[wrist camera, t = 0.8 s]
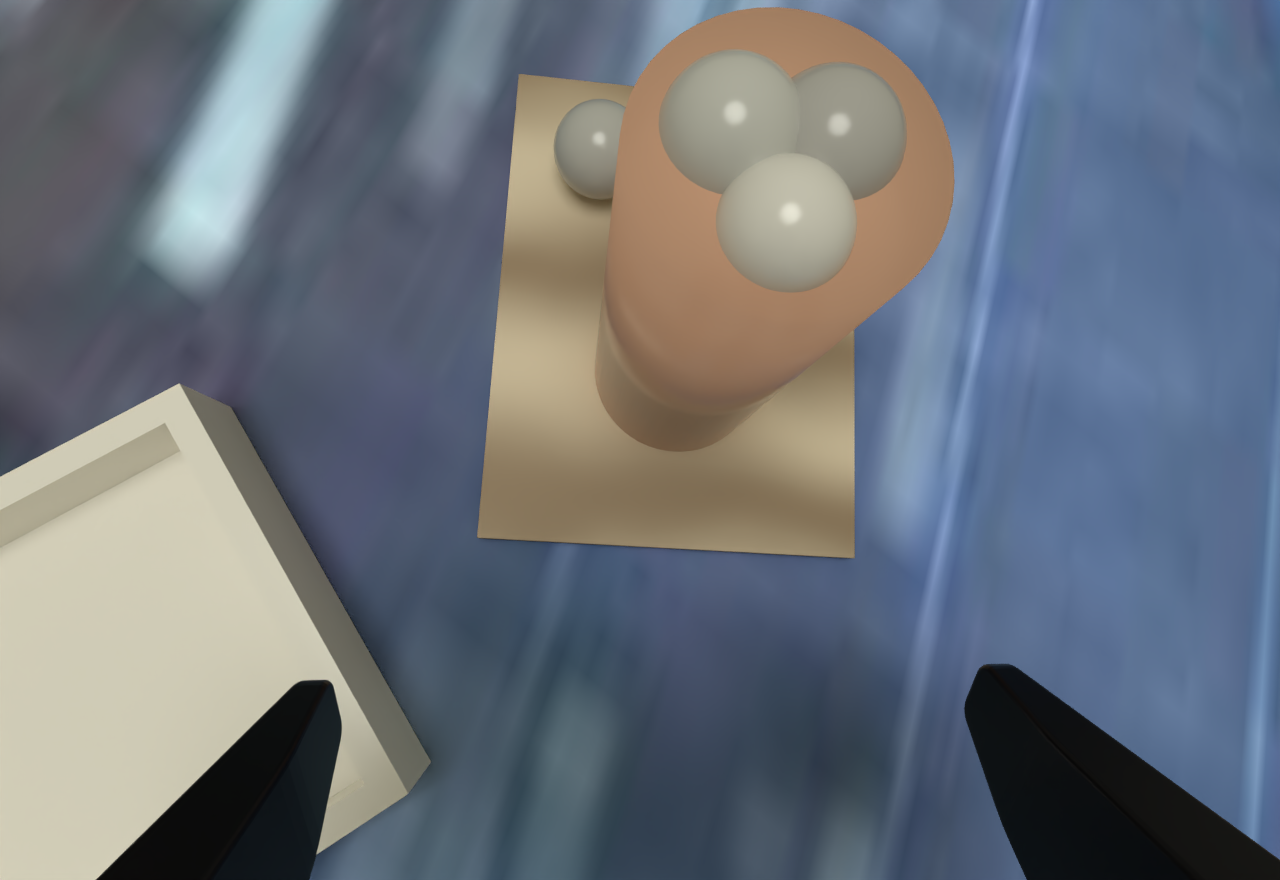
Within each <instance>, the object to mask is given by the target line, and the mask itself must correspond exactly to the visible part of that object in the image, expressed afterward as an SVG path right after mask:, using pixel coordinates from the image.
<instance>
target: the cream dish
mask: <svg viewBox="0 0 1280 880" xmlns="http://www.w3.org/2000/svg"><path fill="white" fill-rule="evenodd" d="M303 680H329V681H330V682H331V683H332V684H333V687H334V690H335V695H336V699H337V703H338V708H339V712H340V716H341V721H342V734H341V741H340V746H339V751H338V755H337V760H336V765H335V770H334V774H333V779H332V784H331V789H330V794H329V798H328V803H327V808H326V813H325V818H324V822H323V827H322V832H321V837H320V841H319V845H318V850H317V854H318V853H320V852H321V851H323V850H324V849H326V848H327V847H329V846H330V845H332V844H333V843H335V842H336V841H338V840H339V839H341V838H342V837H344V836H345V835H347V834H348V833H350V832H351V831H353V830H354V829H356V828H357V827H359V826H360V825H362V824H363V823H365V822H367V821H368V820H370V819H371V818H373V817H374V816H376V815H377V814H379V813H380V812H382V811H383V810H385V809H386V808H388V807H389V806H391V805H392V804H394V803H395V802H397V801H398V800H400V799H401V798H403V797H404V796H406V795H407V794H409V792H410V791H411V789H412V788H413V787H414V785H415V784H416V782H417V781H418V780H419V778H420V777H421V775H422V774H423V773H424V771H425V770H426V768H427V767H428V766H429V764H430V763H431V761H430V759H429V757H428V756H427V754H426V752H425V750H424V749H423V747H422V745H421V743H420V741H419V740H418V738H417V736H416V734H415V733H414V731H413V729H412V727H411V725H410V724H409V722H408V720H407V718H406V717H405V715H404V713H403V711H402V710H401V708H400V706H399V704H398V702H397V701H396V699H395V697H394V695H393V694H392V692H391V690H390V688H389V686H388V685H387V683H386V681H385V679H384V678H383V676H382V674H381V672H380V671H379V669H378V667H377V665H376V663H375V662H374V660H373V658H372V656H371V655H370V653H369V651H368V649H367V647H366V646H365V644H364V642H363V640H362V639H361V637H360V635H359V633H358V632H357V630H356V628H355V626H354V624H353V623H352V621H351V619H350V617H349V616H348V614H347V612H346V610H345V608H344V607H343V605H342V603H341V601H340V600H339V598H338V596H337V594H336V593H335V591H334V589H333V587H332V585H331V584H330V582H329V580H328V578H327V577H326V575H325V573H324V571H323V570H322V568H321V566H320V564H319V562H318V561H317V559H316V557H315V555H314V554H313V552H312V550H311V548H310V546H309V545H308V543H307V541H306V539H305V538H304V536H303V534H302V532H301V531H300V529H299V527H298V525H297V523H296V522H295V520H294V518H293V516H292V515H291V513H290V511H289V509H288V507H287V506H286V504H285V502H284V500H283V499H282V497H281V495H280V493H279V492H278V490H277V488H276V486H275V484H274V483H273V481H272V479H271V477H270V476H269V474H268V472H267V470H266V468H265V467H264V465H263V463H262V461H261V460H260V458H259V456H258V454H257V453H256V451H255V449H254V447H253V445H252V444H251V442H250V440H249V438H248V437H247V435H246V433H245V431H244V429H243V428H242V426H241V424H240V422H239V421H238V419H237V417H236V415H235V414H234V412H233V410H232V408H231V407H229V406H227V405H225V404H223V403H221V402H219V401H216V400H214V399H212V398H210V397H208V396H205V395H203V394H201V393H199V392H197V391H195V390H192V389H190V388H188V387H186V386H184V385H181V384H178V385H176V386H174V387H172V388H170V389H168V390H166V391H164V392H162V393H160V394H158V395H156V396H154V397H153V398H151V399H149V400H147V401H145V402H143V403H141V404H139V405H137V406H135V407H133V408H131V409H130V410H128V411H126V412H124V413H122V414H120V415H118V416H116V417H114V418H112V419H110V420H108V421H107V422H105V423H103V424H101V425H99V426H97V427H95V428H93V429H91V430H89V431H87V432H85V433H84V434H82V435H80V436H78V437H76V438H74V439H72V440H70V441H68V442H66V443H64V444H62V445H60V446H59V447H57V448H55V449H53V450H51V451H49V452H47V453H45V454H43V455H41V456H39V457H37V458H36V459H34V460H32V461H30V462H28V463H26V464H24V465H22V466H20V467H18V468H16V469H14V470H13V471H11V472H9V473H7V474H5V475H3V476H1V477H0V880H96V879H97V878H98V877H99V876H100V875H101V874H102V873H103V872H104V871H105V870H106V869H107V868H108V867H109V866H110V865H111V864H112V863H113V862H114V861H115V860H116V859H117V858H118V857H119V856H120V855H121V854H122V853H123V852H124V851H125V850H126V849H127V848H128V847H129V846H130V845H131V844H132V843H133V842H134V841H135V840H136V839H137V838H138V837H140V836H141V835H142V834H143V833H144V832H145V831H146V830H147V829H148V828H149V827H150V826H151V825H152V824H153V823H154V822H155V821H156V820H157V819H158V818H159V817H160V816H161V815H162V814H163V813H164V812H165V811H166V810H167V809H168V808H169V807H170V806H171V805H172V804H173V803H174V802H175V801H176V800H177V799H178V798H179V797H180V796H181V795H182V794H183V793H184V792H185V791H186V790H187V789H188V788H189V787H190V786H191V785H192V784H193V783H194V782H195V781H196V780H197V779H198V778H199V777H200V776H201V775H202V774H203V773H204V772H206V771H207V770H208V769H209V768H210V767H211V766H212V765H213V764H214V763H215V762H216V761H217V760H218V759H219V758H220V757H221V756H222V755H223V754H224V753H225V752H226V751H227V750H228V749H229V748H230V747H231V746H232V745H233V744H234V743H235V742H236V741H237V740H238V739H239V738H240V737H241V736H242V735H243V734H244V733H245V732H246V731H247V730H248V729H249V728H250V727H251V726H252V725H253V724H254V723H255V722H256V721H257V720H258V719H259V718H260V717H261V716H262V715H263V714H264V713H265V712H266V711H267V710H268V709H269V708H270V707H271V706H273V705H274V704H275V703H276V702H277V701H278V700H279V699H280V698H281V697H282V696H283V695H284V694H285V693H286V692H287V691H288V690H289V689H290V688H291V687H292V686H293V685H294V684H296V683H297V682H299V681H303ZM317 854H316V855H317Z"/></svg>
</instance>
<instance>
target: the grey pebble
mask: <svg viewBox="0 0 1280 880" xmlns="http://www.w3.org/2000/svg"><path fill="white" fill-rule="evenodd" d="M625 108H626V107H624V106H622V105H621V104H619V103H617V102H614V101H611V100H607V99H592V100H588V101H584V102H582V103H580V104H578V105H576V106H575V107H573V108H572V109H571V110H570V111H569V112H568V113H567V114H566V115H565V116H564V117H563V119H562V120H561V122H560V124H559V126H558V128H557V131H556V134H555V138H554V148H553V150H554V159H555V163H556V166H557V168H558V171H559V173H560V175H561V177H562V178H563V179H564V181H565V182H566V183H567V184H568V185H569V186H570V187H571V188H572V189H573V190H574V191H576V192H577V193H579V194H581V195H583V196H585V197H588V198H592V199H599V200H602V199H611V198H613V192H614V183H615V174H616V164H617V155H618V146H619V137H620V130H621V125H622V120H623V114H624V111H625Z"/></svg>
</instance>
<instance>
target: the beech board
mask: <svg viewBox="0 0 1280 880" xmlns="http://www.w3.org/2000/svg"><path fill="white" fill-rule="evenodd" d="M633 88H634V86H625V85H616V84H607V83H597V82H588V81H579V80H570V79H560V78H551V77H542V76H532V75H523V74H519V81H518V92H517V103H516V114H515V125H514V136H513V147H512V158H511V169H510V180H509V191H508V202H507V214H506V225H505V236H504V247H503V258H502V269H501V280H500V291H499V302H498V313H497V324H496V335H495V346H494V357H493V368H492V380H491V391H490V402H489V413H488V424H487V435H486V446H485V457H484V468H483V479H482V490H481V501H480V512H479V523H478V534H477V538H486V539H505V540H523V541H541V542H560V543H578V544H597V545H615V546H634V547H652V548H670V549H689V550H707V551H726V552H744V553H763V554H781V555H800V556H818V557H836V558H855V532H854V330H853V331H851V332H850V333H849V334H848V335H847V336H845V337H844V338H843V339H842V340H841V341H840V342H838V343H837V344H836V345H835V346H834V347H832V348H831V349H830V350H829V351H828V352H826V353H825V354H824V355H823V356H822V357H820V358H819V359H818V360H817V361H816V362H814V363H813V364H812V365H811V366H810V367H809V368H807V369H806V370H805V371H804V372H803V373H801V374H800V375H799V376H798V377H797V378H795V379H794V380H793V381H792V382H791V383H789V384H788V385H787V386H786V387H785V388H784V389H782V390H781V391H780V392H779V393H778V394H776V395H775V396H774V397H773V398H772V399H770V400H769V401H768V402H767V403H766V404H764V405H763V406H762V407H761V408H760V409H758V410H757V411H756V412H755V413H754V414H753V415H751V416H750V417H749V418H748V419H747V420H745V421H744V422H743V423H742V424H741V425H739V426H738V427H737V428H736V429H735V430H733V431H732V432H731V433H730V434H729V435H727V436H726V437H724V438H723V439H722V440H720V441H718V442H716V443H714V444H712V445H710V446H707V447H704V448H702V449H697V450H693V451H683V452H675V451H665V450H659V449H656V448H653V447H650V446H647V445H645V444H643V443H641V442H638V441H637V440H635V439H634V438H632V437H630V436H629V435H628V434H626V433H625V432H624V431H623V430H622V429H620V427H619V426H618V425H617V424H616V423H615V422H614V421H613V420H612V418H611V417H610V416H609V414H608V413H607V411H606V409H605V407H604V406H603V404H602V402H601V399H600V396H599V394H598V390H597V386H596V381H595V357H596V348H597V339H598V330H599V321H600V312H601V302H602V293H603V284H604V275H605V266H606V256H607V247H608V238H609V229H610V220H611V210H612V201H613V198H611V199H602V200H599V199H592V198H588V197H585V196H583V195H581V194H579V193H577V192H576V191H574V190H573V189H572V188H571V187H570V186H569V185H568V184H567V183H566V182H565V181H564V179H563V178H562V177H561V175H560V173H559V171H558V168H557V166H556V163H555V159H554V150H553V148H554V138H555V134H556V131H557V128H558V126H559V124H560V122H561V120H562V119H563V117H564V116H565V115H566V114H567V113H568V112H569V111H570V110H571V109H572V108H573V107H575V106H576V105H578V104H580V103H582V102H584V101H588V100H592V99H607V100H611V101H614V102H617V103H619V104H621V105H622V106H624V107H626V105H627V103H628V100H629V97H630V94H631V92H632V90H633Z"/></svg>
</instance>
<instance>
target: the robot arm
mask: <svg viewBox="0 0 1280 880" xmlns="http://www.w3.org/2000/svg"><path fill="white" fill-rule="evenodd" d="M964 709H965V718H966V721H967V724H968V727H969V730H970V733H971V736H972V739H973V742H974V745H975V748H976V751H977V754H978V757H979V760H980V762H981V765H982V768H983V771H984V774H985V777H986V780H987V783H988V786H989V789H990V792H991V795H992V798H993V800H994V803H995V806H996V809H997V812H998V814H999V817H1000V820H1001V822H1002V825H1003V827H1004V830H1005V832H1006V834H1007V837H1008V839H1009V841H1010V844H1011V846H1012V848H1013V850H1014V853H1015V855H1016V857H1017V859H1018V861H1019V864H1020V866H1021V868H1022V870H1023V872H1024V875H1025V877H1026V879H1027V880H1280V860H1279V859H1278V858H1277V857H1275V856H1274V855H1272V854H1271V853H1270V852H1268V851H1267V850H1266V849H1264V848H1263V847H1262V846H1260V845H1259V844H1257V843H1256V842H1255V841H1253V840H1252V839H1251V838H1249V837H1248V836H1246V835H1245V834H1244V833H1242V832H1241V831H1240V830H1238V829H1237V828H1236V827H1234V826H1233V825H1231V824H1230V823H1229V822H1227V821H1226V820H1225V819H1223V818H1222V817H1220V816H1219V815H1218V814H1216V813H1215V812H1214V811H1212V810H1211V809H1210V808H1208V807H1207V806H1205V805H1204V804H1203V803H1201V802H1200V801H1199V800H1197V799H1196V798H1194V797H1193V796H1192V795H1190V794H1189V793H1188V792H1186V791H1185V790H1184V789H1182V788H1181V787H1179V786H1178V785H1177V784H1175V783H1174V782H1173V781H1171V780H1170V779H1168V778H1167V777H1166V776H1164V775H1163V774H1162V773H1160V772H1159V771H1158V770H1156V769H1155V768H1153V767H1152V766H1151V765H1149V764H1148V763H1147V762H1145V761H1144V760H1142V759H1141V758H1140V757H1138V756H1137V755H1136V754H1134V753H1133V752H1132V751H1130V750H1129V749H1127V748H1126V747H1125V746H1123V745H1122V744H1121V743H1119V742H1118V741H1117V740H1115V739H1114V738H1112V737H1111V736H1110V735H1108V734H1107V733H1106V732H1104V731H1103V730H1101V729H1100V728H1099V727H1097V726H1096V725H1095V724H1093V723H1092V722H1091V721H1089V720H1088V719H1086V718H1085V717H1084V716H1082V715H1081V714H1080V713H1078V712H1077V711H1075V710H1074V709H1073V708H1071V707H1070V706H1069V705H1067V704H1066V703H1065V702H1063V701H1062V700H1060V699H1059V698H1058V697H1056V696H1055V695H1054V694H1052V693H1051V692H1049V691H1048V690H1047V689H1045V688H1044V687H1043V686H1041V685H1040V684H1039V683H1037V682H1036V681H1034V680H1033V679H1032V678H1030V677H1029V676H1028V675H1026V674H1025V673H1023V672H1022V671H1021V670H1019V669H1018V668H1016V667H1015V666H1013V665H1010V664H986V665H983V666H982V667H980V668H979V670H978V672H977V674H976V677H975V679H974V681H973V684H972V686H971V689H970V691H969V694H968V696H967V699H966V701H965V708H964ZM341 734H342V721H341V716H340V712H339V708H338V703H337V699H336V695H335V690H334V687H333V684H332V683H331V682H330V681H329V680H303V681H299V682H297V683H296V684H294V685H293V686H292V687H291V688H290V689H289V690H288V691H287V692H286V693H285V694H284V695H283V696H282V697H281V698H280V699H279V700H278V701H277V702H276V703H275V704H274V705H273V706H271V707H270V708H269V709H268V710H267V711H266V712H265V713H264V714H263V715H262V716H261V717H260V718H259V719H258V720H257V721H256V722H255V723H254V724H253V725H252V726H251V727H250V728H249V729H248V730H247V731H246V732H245V733H244V734H243V735H242V736H241V737H240V738H239V739H238V740H237V741H236V742H235V743H234V744H233V745H232V746H231V747H230V748H229V749H228V750H227V751H226V752H225V753H224V754H223V755H222V756H221V757H220V758H219V759H218V760H217V761H216V762H215V763H214V764H213V765H212V766H211V767H210V768H209V769H208V770H207V771H206V772H204V773H203V774H202V775H201V776H200V777H199V778H198V779H197V780H196V781H195V782H194V783H193V784H192V785H191V786H190V787H189V788H188V789H187V790H186V791H185V792H184V793H183V794H182V795H181V796H180V797H179V798H178V799H177V800H176V801H175V802H174V803H173V804H172V805H171V806H170V807H169V808H168V809H167V810H166V811H165V812H164V813H163V814H162V815H161V816H160V817H159V818H158V819H157V820H156V821H155V822H154V823H153V824H152V825H151V826H150V827H149V828H148V829H147V830H146V831H145V832H144V833H143V834H142V835H141V836H140V837H138V838H137V839H136V840H135V841H134V842H133V843H132V844H131V845H130V846H129V847H128V848H127V849H126V850H125V851H124V852H123V853H122V854H121V855H120V856H119V857H118V858H117V859H116V860H115V861H114V862H113V863H112V864H111V865H110V866H109V867H108V868H107V869H106V870H105V871H104V872H103V873H102V874H101V875H100V876H99V877H98V878H97V879H96V880H309V878H310V875H311V872H312V868H313V865H314V862H315V858H316V854H317V850H318V845H319V841H320V837H321V832H322V827H323V822H324V818H325V813H326V808H327V803H328V798H329V794H330V789H331V784H332V779H333V774H334V770H335V765H336V760H337V755H338V751H339V746H340V741H341Z"/></svg>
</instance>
